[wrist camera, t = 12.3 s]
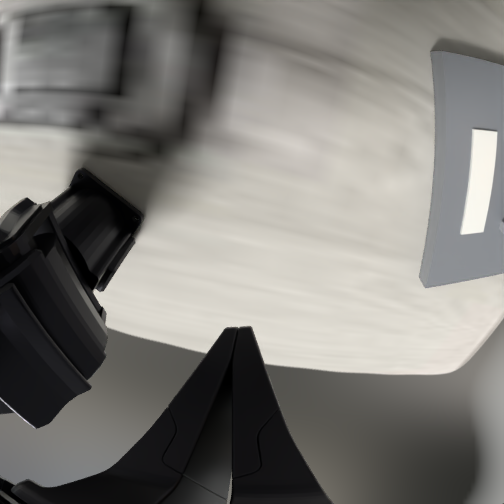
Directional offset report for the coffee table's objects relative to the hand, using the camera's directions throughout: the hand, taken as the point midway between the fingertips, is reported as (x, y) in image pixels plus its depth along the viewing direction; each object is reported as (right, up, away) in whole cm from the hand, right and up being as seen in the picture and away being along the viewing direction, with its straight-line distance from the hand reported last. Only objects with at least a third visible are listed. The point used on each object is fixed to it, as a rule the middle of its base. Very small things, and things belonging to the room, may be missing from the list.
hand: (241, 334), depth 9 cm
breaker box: (+20, +9, +7) cm, 23 cm away
